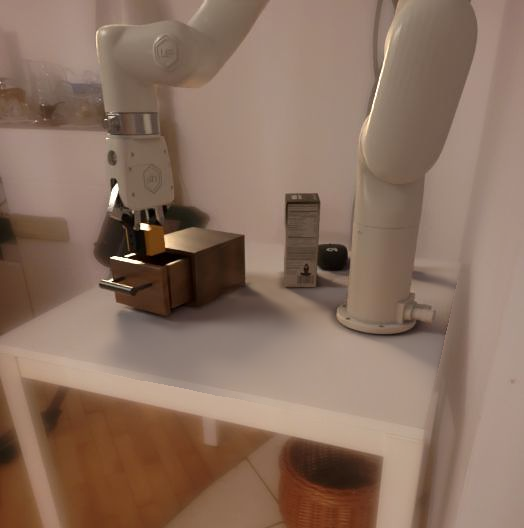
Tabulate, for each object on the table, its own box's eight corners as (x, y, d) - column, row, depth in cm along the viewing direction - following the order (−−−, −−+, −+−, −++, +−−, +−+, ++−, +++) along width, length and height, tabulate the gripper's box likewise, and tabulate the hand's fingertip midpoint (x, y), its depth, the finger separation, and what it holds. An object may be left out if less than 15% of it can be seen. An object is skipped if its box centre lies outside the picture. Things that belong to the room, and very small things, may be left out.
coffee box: (283, 273, 101) (284, 192, 94) (314, 273, 101) (317, 192, 94) (283, 287, 93) (285, 200, 86) (317, 287, 93) (322, 200, 86)
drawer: (144, 325, 75) (138, 277, 71) (94, 311, 80) (86, 265, 77) (216, 291, 89) (214, 249, 85) (169, 281, 94) (165, 240, 91)
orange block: (165, 251, 79) (163, 226, 78) (151, 255, 77) (149, 230, 75) (142, 247, 82) (139, 222, 80) (128, 251, 80) (125, 226, 78)
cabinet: (197, 307, 84) (194, 252, 80) (144, 294, 90) (138, 242, 86) (245, 284, 95) (244, 234, 91) (195, 273, 101) (192, 226, 97)
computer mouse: (314, 271, 102) (315, 252, 101) (311, 255, 113) (311, 238, 111) (350, 271, 102) (352, 252, 100) (343, 255, 113) (344, 238, 111)
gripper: (107, 129, 63) (125, 267, 71) (190, 125, 76) (197, 243, 84) (69, 128, 67) (90, 259, 75) (154, 124, 79) (164, 237, 87)
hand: (146, 249), depth 79 cm, fingers closed on orange block, 3 cm apart
